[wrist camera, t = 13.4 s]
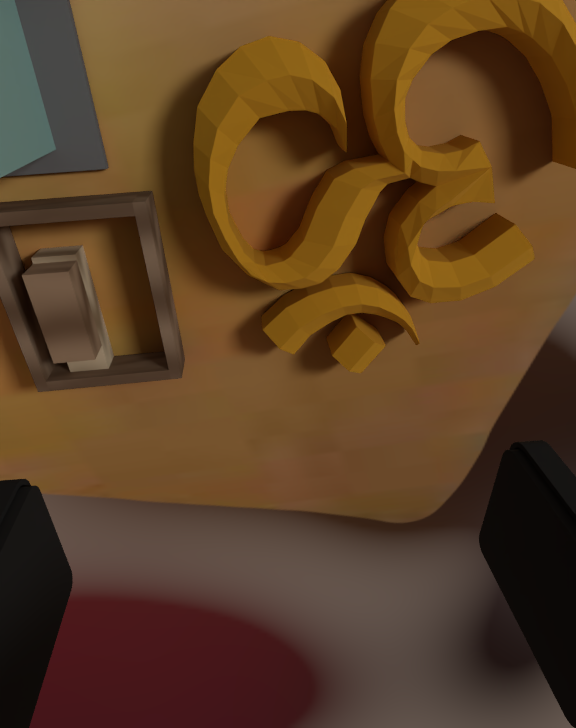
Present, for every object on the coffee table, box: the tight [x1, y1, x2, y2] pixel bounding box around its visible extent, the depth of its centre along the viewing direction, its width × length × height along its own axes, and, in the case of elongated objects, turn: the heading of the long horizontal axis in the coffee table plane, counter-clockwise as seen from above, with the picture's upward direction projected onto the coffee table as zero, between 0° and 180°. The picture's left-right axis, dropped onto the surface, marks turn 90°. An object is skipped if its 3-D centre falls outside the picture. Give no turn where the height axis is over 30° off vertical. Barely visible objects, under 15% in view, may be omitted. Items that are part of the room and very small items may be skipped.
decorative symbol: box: [193, 0, 576, 373], centre depth 40 cm, size 30×5×30 cm
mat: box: [3, 0, 109, 177], centre depth 34 cm, size 14×10×1 cm
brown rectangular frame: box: [0, 191, 185, 392], centre depth 42 cm, size 16×13×4 cm
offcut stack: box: [22, 245, 114, 372], centre depth 42 cm, size 11×4×5 cm, turn 3°
